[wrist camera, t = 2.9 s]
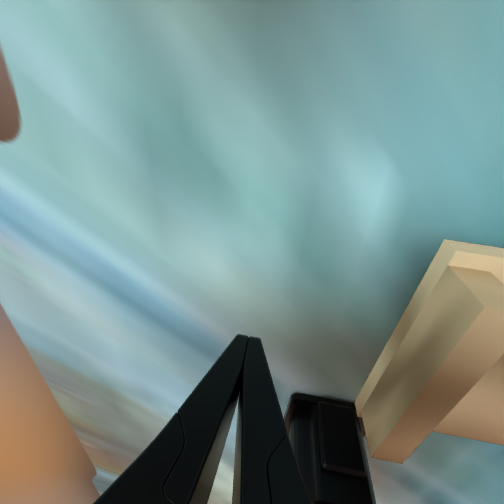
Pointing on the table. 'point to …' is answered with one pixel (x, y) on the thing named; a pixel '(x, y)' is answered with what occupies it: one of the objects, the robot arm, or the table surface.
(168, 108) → the table surface
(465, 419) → the lid
